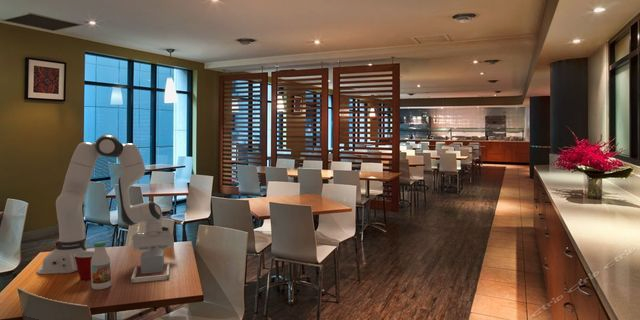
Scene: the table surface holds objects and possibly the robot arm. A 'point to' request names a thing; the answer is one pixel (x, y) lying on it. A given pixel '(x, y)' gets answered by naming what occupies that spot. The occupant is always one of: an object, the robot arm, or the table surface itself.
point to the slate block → (152, 260)
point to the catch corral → (149, 278)
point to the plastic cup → (84, 264)
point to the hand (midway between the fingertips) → (153, 255)
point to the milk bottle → (100, 267)
